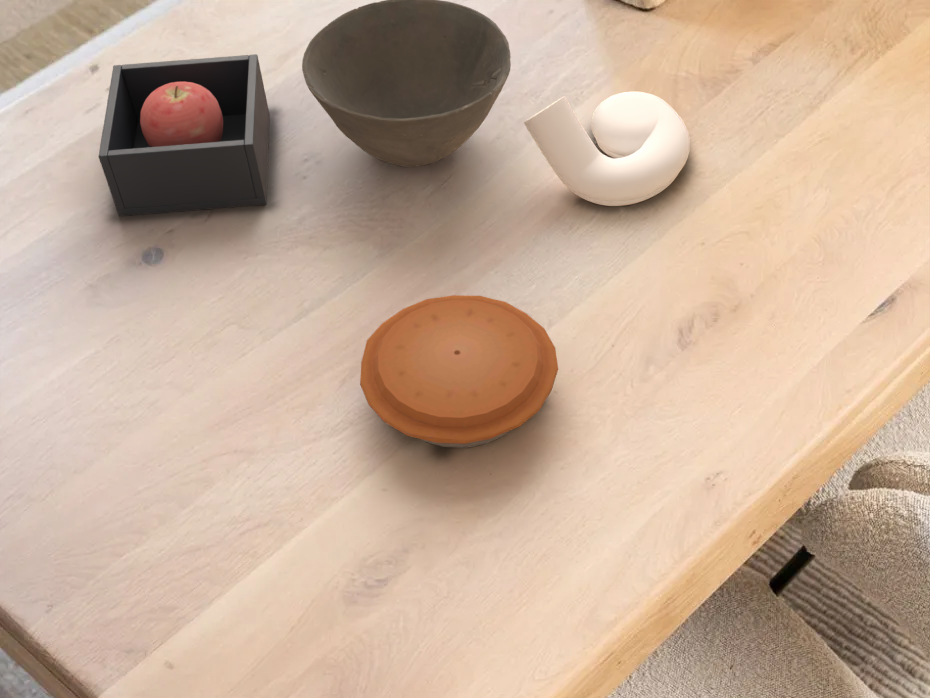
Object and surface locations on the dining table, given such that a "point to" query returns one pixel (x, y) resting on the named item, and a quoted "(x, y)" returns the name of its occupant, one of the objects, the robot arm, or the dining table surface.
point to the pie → (458, 370)
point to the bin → (190, 165)
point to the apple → (181, 115)
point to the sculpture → (614, 147)
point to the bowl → (408, 76)
